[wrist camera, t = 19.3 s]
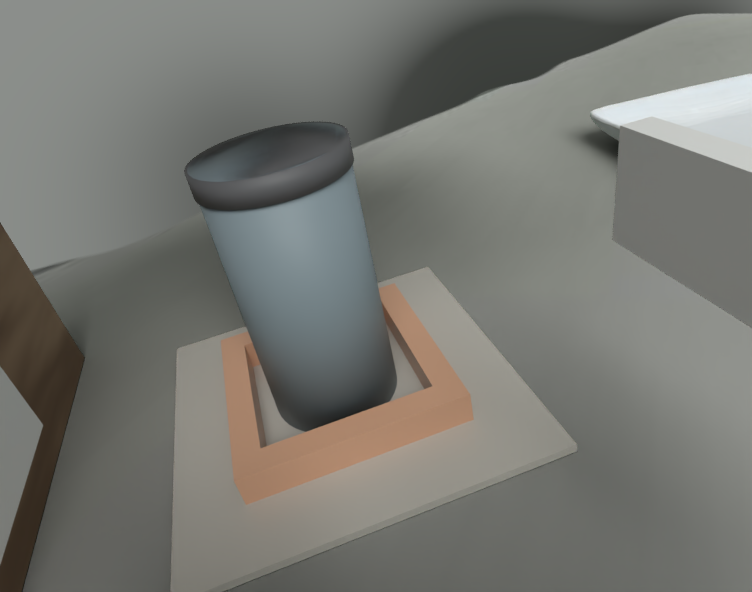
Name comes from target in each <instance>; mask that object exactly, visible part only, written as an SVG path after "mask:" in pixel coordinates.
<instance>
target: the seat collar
mask: <svg viewBox="0 0 752 592" xmlns="http://www.w3.org/2000/svg"><path fill="white" fill-rule="evenodd" d="M377 284H378V288H379V293H380V298H381V302H382V307H383V312H384V317H385V321H386V326H387V331H388V336H389V340H390V345H391V350H392V355H393V359H394V364H395V369H396V374H397V386H396V390H395V393H394V395H393V397H392V398H391V400H390V402H387V403H385V404H382V405H379V406H376V407H374V408H371V409H368V410H365V411H362V412H360V413H357V414H354V415H351V416H349V417H346V418H343V419H340V420H338V421H335V422H332V423H329V424H326V425H324V426H321V427H318V428H315V429H313V430H310V431H307V432H305V431H301V430H299V429H296V428H294V427H292V426H291V425H289V424H288V423H287V422H286V421H285V420H284V419H283V418H282V417H281V415H280V413H279V411H278V409H277V406H276V403H275V401H274V398H273V396H272V393H271V390H270V388H269V385H268V383H267V380H266V377H265V375H264V372H263V369H262V367H261V364H260V362H259V359H258V356H257V354H256V351H255V348H254V346H253V343H252V341H251V338H250V335H249V333H248V330H247V328H246V326H245V327H242V328H238V329H235V330H232V331H229V332H226V333H223V334H220V335H217V336H214V337H211V338H208V339H205V340H202V341H199V342H196V343H193V344H190V345H186V346H183V347H180V348H177V361H176V399H175V437H174V475H173V512H172V550H171V588H170V592H223V591H226V590H228V589H231V588H233V587H236V586H238V585H241V584H243V583H246V582H248V581H251V580H253V579H256V578H259V577H261V576H264V575H266V574H269V573H271V572H274V571H276V570H279V569H281V568H284V567H286V566H289V565H291V564H294V563H296V562H299V561H301V560H304V559H306V558H309V557H312V556H314V555H317V554H319V553H322V552H324V551H327V550H329V549H332V548H334V547H337V546H339V545H342V544H344V543H347V542H349V541H352V540H354V539H357V538H359V537H362V536H365V535H367V534H370V533H372V532H375V531H377V530H380V529H382V528H385V527H387V526H390V525H392V524H395V523H397V522H400V521H402V520H405V519H407V518H410V517H413V516H415V515H418V514H420V513H423V512H425V511H428V510H430V509H433V508H435V507H438V506H440V505H443V504H445V503H448V502H450V501H453V500H455V499H458V498H460V497H463V496H466V495H468V494H471V493H473V492H476V491H478V490H481V489H483V488H486V487H488V486H491V485H493V484H496V483H498V482H501V481H503V480H506V479H508V478H511V477H513V476H516V475H519V474H521V473H524V472H526V471H529V470H531V469H534V468H536V467H539V466H541V465H544V464H546V463H549V462H551V461H554V460H556V459H559V458H561V457H564V456H566V455H569V454H572V453H574V452H577V444H576V442H575V441H574V440H573V439H572V438H571V437H570V435H569V434H568V433H567V432H566V431H565V429H564V428H563V427H562V426H561V425H560V423H559V422H558V421H557V420H556V419H555V417H554V416H553V415H552V414H551V413H550V411H549V410H548V409H547V408H546V407H545V405H544V404H543V403H542V402H541V401H540V400H539V398H538V397H537V396H536V395H535V394H534V392H533V391H532V390H531V389H530V388H529V386H528V385H527V384H526V383H525V382H524V380H523V379H522V378H521V377H520V376H519V374H518V373H517V372H516V371H515V370H514V369H513V367H512V366H511V365H510V364H509V363H508V361H507V360H506V359H505V358H504V357H503V355H502V354H501V353H500V352H499V351H498V349H497V348H496V347H495V346H494V345H493V343H492V342H491V341H490V340H489V339H488V338H487V336H486V335H485V334H484V333H483V332H482V330H481V329H480V328H479V327H478V326H477V324H476V323H475V322H474V321H473V320H472V318H471V317H470V316H469V315H468V314H467V312H466V311H465V310H464V309H463V308H462V307H461V305H460V304H459V303H458V302H457V301H456V299H455V298H454V297H453V296H452V295H451V293H450V292H449V291H448V290H447V289H446V287H445V286H444V285H443V284H442V283H441V281H440V280H439V279H438V278H437V277H436V276H435V274H434V273H433V272H432V271H431V270H430V268H429V267H425V268H422V269H419V270H416V271H413V272H410V273H407V274H404V275H400V276H397V277H394V278H391V279H388V280H385V281H382V282H379V283H377Z"/></svg>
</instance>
